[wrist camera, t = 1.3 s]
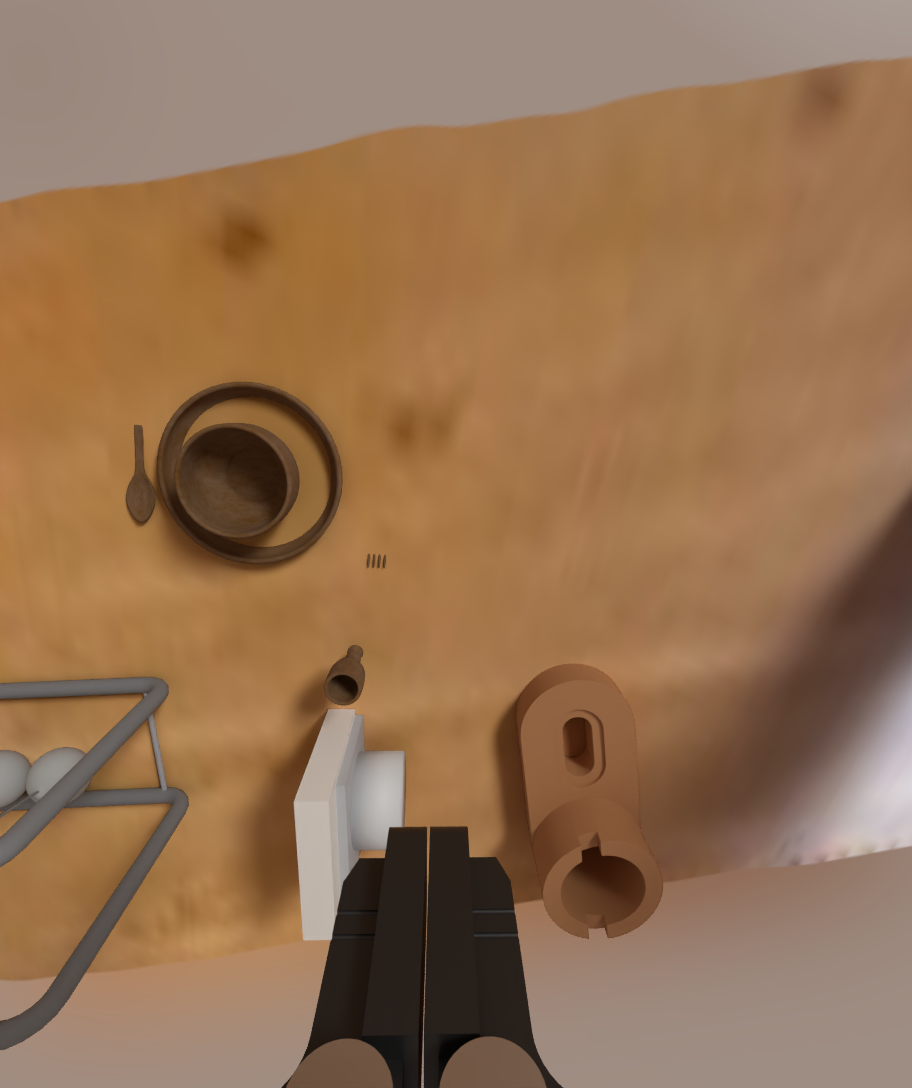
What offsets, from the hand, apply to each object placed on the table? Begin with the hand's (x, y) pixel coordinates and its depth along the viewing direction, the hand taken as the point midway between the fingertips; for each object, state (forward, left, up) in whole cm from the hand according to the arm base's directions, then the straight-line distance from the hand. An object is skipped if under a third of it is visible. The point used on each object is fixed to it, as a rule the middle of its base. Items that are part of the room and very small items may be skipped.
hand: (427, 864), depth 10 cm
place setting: (+12, 0, -29) cm, 32 cm away
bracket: (-11, +19, -29) cm, 36 cm away
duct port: (+5, +19, -29) cm, 34 cm away
